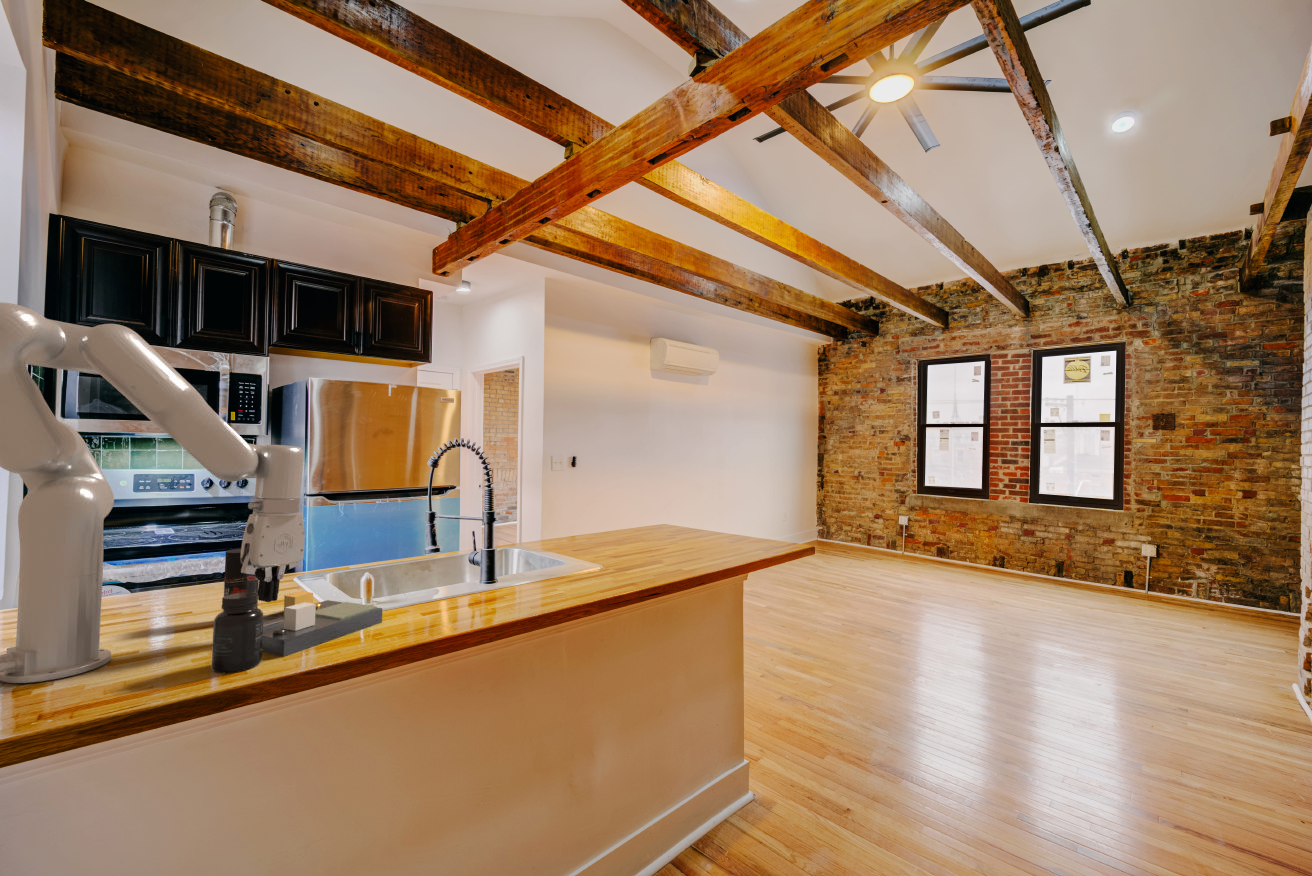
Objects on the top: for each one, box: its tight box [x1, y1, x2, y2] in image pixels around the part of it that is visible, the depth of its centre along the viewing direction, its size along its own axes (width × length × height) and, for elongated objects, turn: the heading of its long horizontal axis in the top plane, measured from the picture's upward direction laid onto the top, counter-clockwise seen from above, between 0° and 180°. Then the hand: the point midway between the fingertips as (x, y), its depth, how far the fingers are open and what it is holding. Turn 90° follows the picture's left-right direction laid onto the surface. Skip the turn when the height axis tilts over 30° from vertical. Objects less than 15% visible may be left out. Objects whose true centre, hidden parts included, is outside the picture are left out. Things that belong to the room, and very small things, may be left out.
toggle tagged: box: [283, 591, 314, 616], centre depth 115 cm, size 4×3×4 cm
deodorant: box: [223, 548, 259, 609], centre depth 120 cm, size 6×6×15 cm
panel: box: [262, 599, 383, 658], centre depth 113 cm, size 22×16×4 cm
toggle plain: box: [284, 602, 316, 631], centre depth 107 cm, size 4×3×4 cm
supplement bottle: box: [211, 592, 264, 674], centre depth 95 cm, size 7×7×12 cm
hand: (267, 600), depth 109 cm, fingers closed
